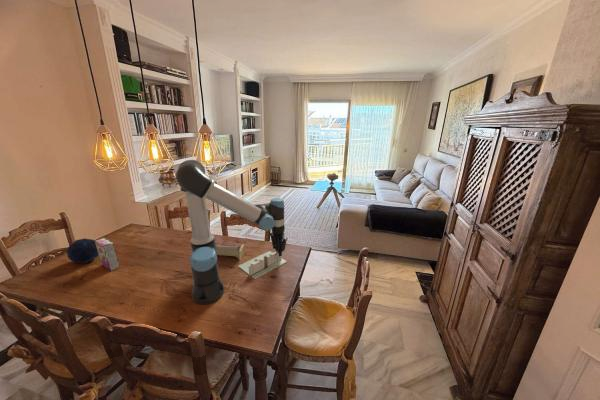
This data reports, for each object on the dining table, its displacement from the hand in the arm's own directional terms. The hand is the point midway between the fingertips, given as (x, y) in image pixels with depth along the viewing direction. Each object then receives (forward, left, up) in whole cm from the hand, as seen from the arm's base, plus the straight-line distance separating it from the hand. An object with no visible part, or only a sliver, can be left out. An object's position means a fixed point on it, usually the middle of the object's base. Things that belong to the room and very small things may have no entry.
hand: (279, 260), depth 143 cm
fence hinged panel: (-2, +3, -2) cm, 3 cm away
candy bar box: (-72, +67, -3) cm, 99 cm away
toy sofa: (-18, +30, -3) cm, 35 cm away
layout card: (-7, +6, -3) cm, 10 cm away
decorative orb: (-81, +84, -3) cm, 117 cm away
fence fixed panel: (-14, +2, -2) cm, 14 cm away
